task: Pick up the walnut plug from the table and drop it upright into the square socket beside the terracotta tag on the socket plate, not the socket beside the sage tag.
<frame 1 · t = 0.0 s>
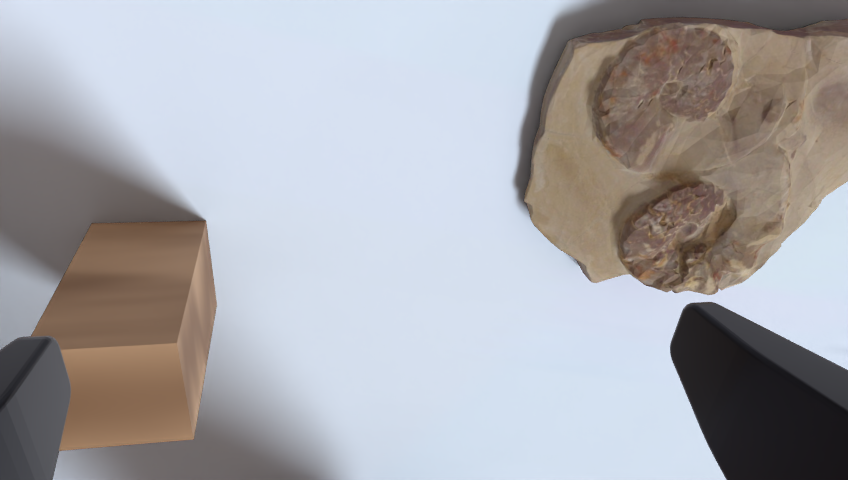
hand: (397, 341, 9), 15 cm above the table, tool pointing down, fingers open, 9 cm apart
fossil: (699, 139, 26), on the table
plug: (157, 266, 24), on the table
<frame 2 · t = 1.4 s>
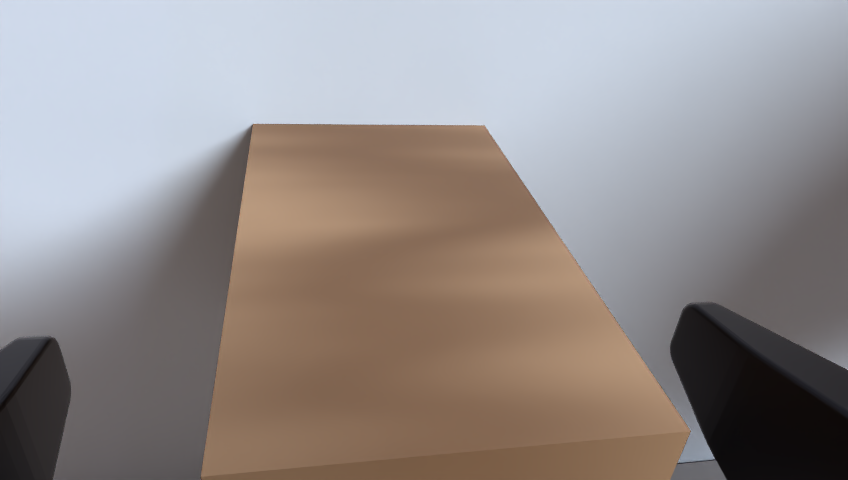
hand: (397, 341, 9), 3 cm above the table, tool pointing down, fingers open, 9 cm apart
plug: (369, 224, 12), on the table
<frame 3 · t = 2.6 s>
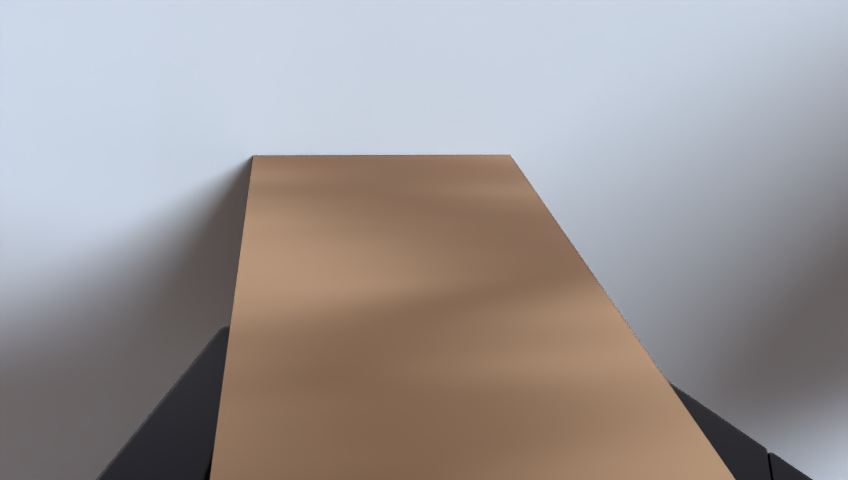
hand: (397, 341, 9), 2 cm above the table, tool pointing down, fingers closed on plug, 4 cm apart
plug: (381, 262, 11), on the table, touching gripper
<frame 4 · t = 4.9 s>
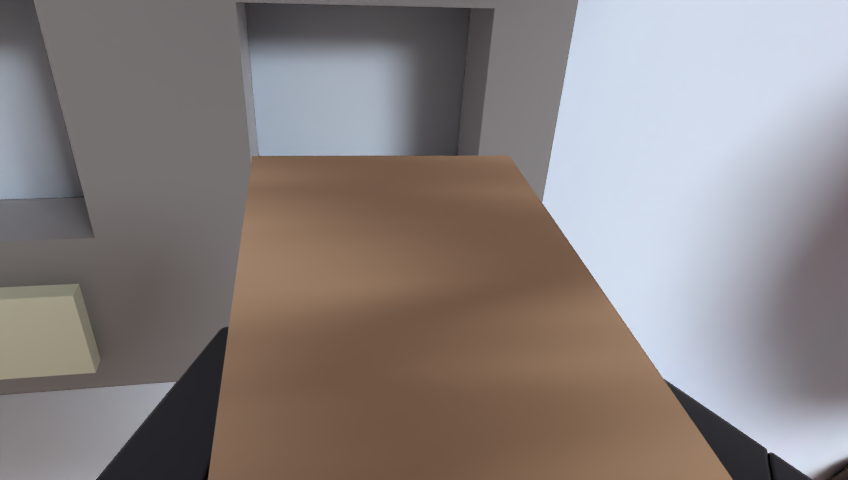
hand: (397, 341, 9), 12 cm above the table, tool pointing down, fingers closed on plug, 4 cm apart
socket plate: (174, 97, 19), on the table
plug: (380, 263, 11), point 10 cm above the table, touching gripper
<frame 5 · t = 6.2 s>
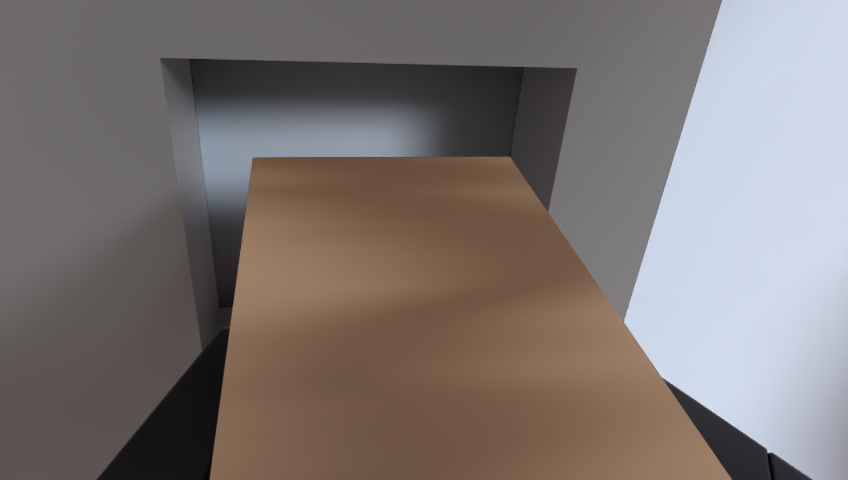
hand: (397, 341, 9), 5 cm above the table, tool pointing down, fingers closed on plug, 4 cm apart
socket plate: (86, 182, 13), on the table
plug: (381, 264, 11), point 3 cm above the table, touching gripper
when the fingers open (5 cm above the table, at t = 7.0 s): plug drops 3 cm, resting in socket plate.
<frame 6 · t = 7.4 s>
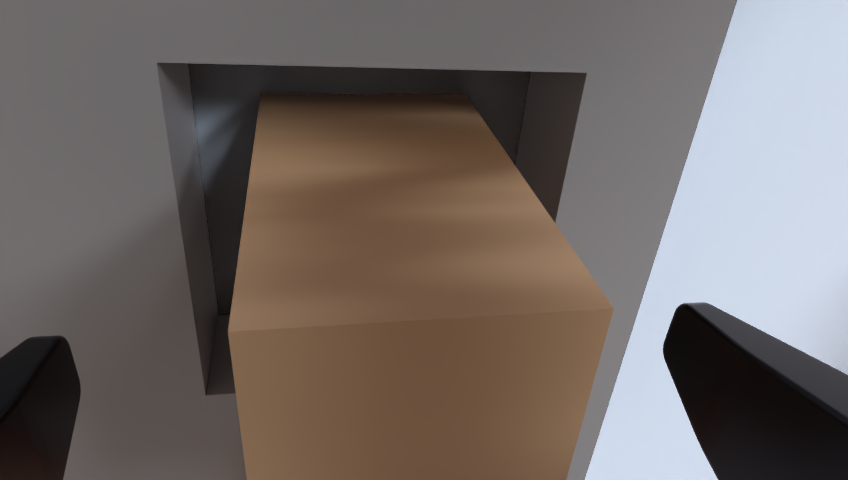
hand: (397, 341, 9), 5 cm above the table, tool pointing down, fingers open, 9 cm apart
socket plate: (81, 189, 12), on the table
plug: (364, 185, 13), resting in socket plate
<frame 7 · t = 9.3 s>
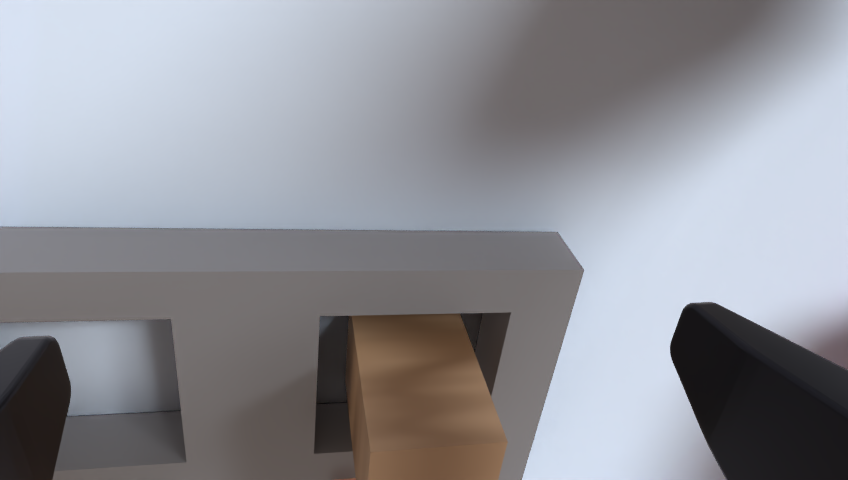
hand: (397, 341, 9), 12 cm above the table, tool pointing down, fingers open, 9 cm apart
socket plate: (252, 344, 23), on the table
plug: (398, 339, 25), resting in socket plate
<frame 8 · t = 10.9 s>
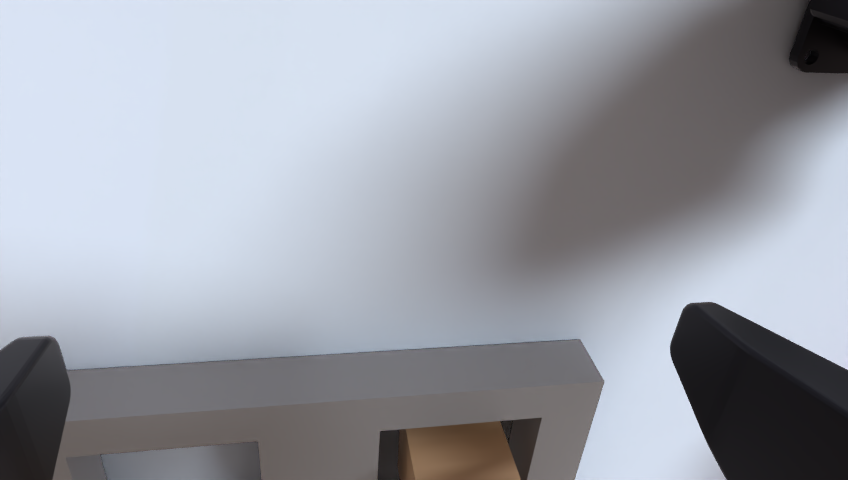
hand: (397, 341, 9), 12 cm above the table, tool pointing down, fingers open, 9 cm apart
socket plate: (319, 442, 27), on the table
plug: (443, 431, 28), resting in socket plate
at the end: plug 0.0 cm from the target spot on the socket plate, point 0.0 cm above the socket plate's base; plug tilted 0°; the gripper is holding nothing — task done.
